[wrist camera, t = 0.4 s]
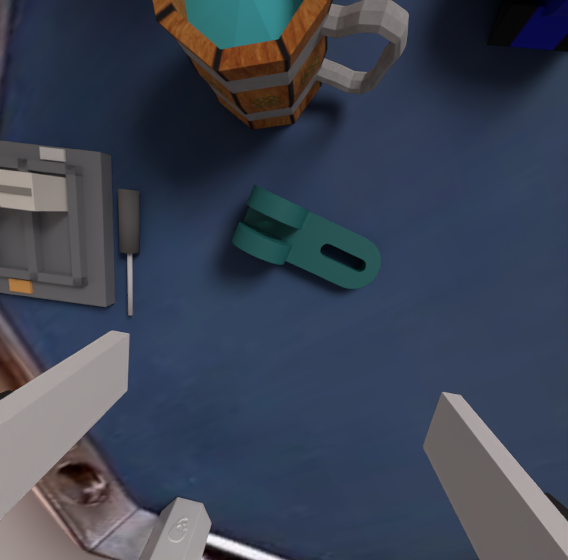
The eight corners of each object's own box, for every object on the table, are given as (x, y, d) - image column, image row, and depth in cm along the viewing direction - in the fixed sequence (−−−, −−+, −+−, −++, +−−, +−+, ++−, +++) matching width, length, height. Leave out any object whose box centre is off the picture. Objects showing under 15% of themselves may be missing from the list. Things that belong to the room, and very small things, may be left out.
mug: (199, 114, 35) (124, 44, 20) (223, -17, 32) (155, -211, 17) (353, 159, 35) (389, 122, 20) (393, 33, 32) (470, -118, 17)
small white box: (37, 174, 36) (-6, 168, 31) (68, 178, 35) (30, 172, 30) (40, 207, 37) (-1, 206, 32) (70, 211, 36) (33, 211, 31)
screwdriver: (125, 189, 38) (113, 187, 35) (143, 191, 38) (132, 190, 35) (127, 310, 42) (116, 316, 39) (143, 312, 42) (133, 318, 39)
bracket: (240, 236, 38) (224, 242, 31) (260, 188, 37) (249, 182, 29) (360, 292, 39) (375, 312, 31) (385, 247, 37) (406, 257, 30)
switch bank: (-52, 136, 37) (-84, 129, 34) (111, 155, 37) (93, 150, 34) (-29, 283, 42) (-56, 288, 39) (115, 302, 41) (100, 309, 38)
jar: (216, 504, 49) (188, 595, 38) (207, 538, 51) (179, 635, 39) (165, 491, 49) (123, 578, 38) (159, 526, 51) (117, 619, 40)
